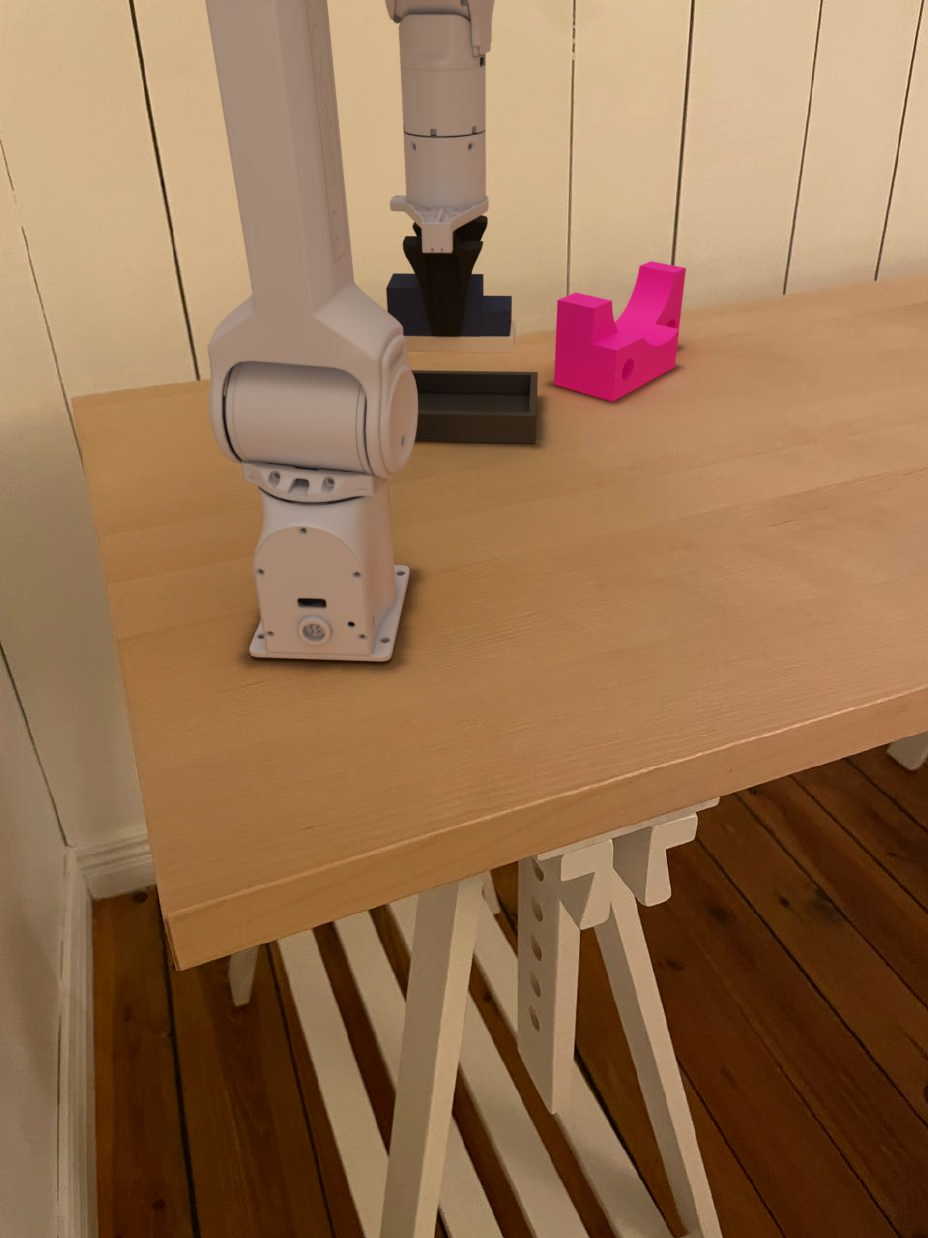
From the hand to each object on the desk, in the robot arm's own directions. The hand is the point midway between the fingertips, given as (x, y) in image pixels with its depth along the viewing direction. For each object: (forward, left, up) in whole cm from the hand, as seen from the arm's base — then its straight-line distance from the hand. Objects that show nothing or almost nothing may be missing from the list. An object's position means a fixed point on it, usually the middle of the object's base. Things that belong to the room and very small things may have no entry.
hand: (449, 325), depth 75 cm
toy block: (+13, -15, -8) cm, 22 cm away
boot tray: (+1, +1, -8) cm, 8 cm away
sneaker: (0, 0, -1) cm, 1 cm away
